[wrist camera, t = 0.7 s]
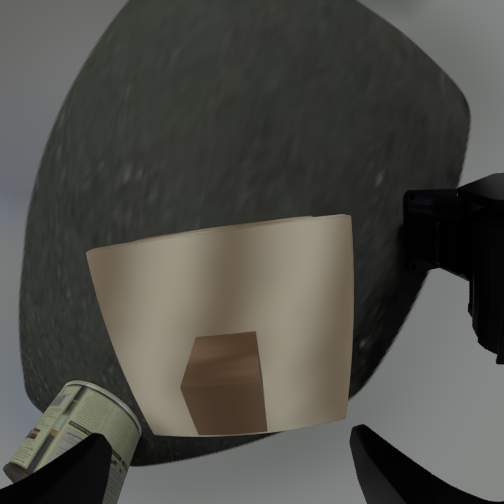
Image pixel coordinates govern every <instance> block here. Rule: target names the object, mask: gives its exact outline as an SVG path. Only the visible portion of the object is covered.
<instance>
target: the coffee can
mask: <svg viewBox="0 0 504 504" xmlns="http://www.w3.org/2000/svg"><path fill="white" fill-rule="evenodd" d="M92 433H100V434H103V435H104V436H105V437H106V439H107V440H108V442H109V443H110V445H111V446H112V449H113V452H112V458H111V465H110V471H109V478H108V483H107V487H106V491H105V495H104V499H103V503H102V504H117V501H118V498H119V495H120V492H121V489H122V486H123V483H124V480H125V477H126V474H127V471H128V468H129V465H130V463H131V460H132V457H133V454H134V451H135V448H136V446H137V443H138V440H139V438H140V437H141V433H142V429H141V425H140V422H139V420H138V418H137V417H136V415H135V414H134V413H133V412H132V410H131V409H130V408H129V407H128V406H127V405H126V404H125V403H124V402H123V401H121V400H120V399H119V398H118V397H116V396H115V395H113V394H112V393H110V392H109V391H107V390H105V389H103V388H101V387H100V386H97V385H95V384H93V383H89V382H86V381H81V380H75V381H70V382H68V383H66V384H65V385H64V387H63V389H62V390H61V392H60V393H59V394H58V395H57V397H56V398H55V399H54V401H53V402H52V403H51V404H50V406H49V407H48V408H47V410H46V411H45V412H44V414H43V415H42V417H41V418H40V419H39V420H38V422H37V423H36V424H35V426H34V427H33V429H32V430H31V431H30V433H29V434H28V436H27V437H26V439H25V440H24V441H23V443H22V444H21V446H20V447H19V449H18V450H17V452H16V453H15V455H14V456H13V457H12V459H11V460H10V462H9V463H8V464H6V465H5V466H4V468H3V470H4V472H5V474H6V475H7V476H8V478H9V479H10V480H11V481H12V482H13V483H16V482H18V481H20V480H22V479H23V478H25V477H27V476H29V475H30V474H32V473H34V472H35V471H37V470H38V469H40V468H41V467H43V466H45V465H46V464H48V463H49V462H51V461H52V460H54V459H55V458H57V457H58V456H60V455H61V454H63V453H64V452H66V451H67V450H69V449H70V448H72V447H73V446H75V445H76V444H77V443H79V442H80V441H82V440H83V439H85V438H86V437H87V436H89V435H90V434H92Z"/></svg>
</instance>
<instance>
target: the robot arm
mask: <svg viewBox="0 0 504 504" xmlns="http://www.w3.org/2000/svg"><path fill="white" fill-rule="evenodd" d="M457 193H458V196H457ZM410 195H412V199H410ZM405 212H406V219H405V237H406V269H407V271H408V272H410V273H417V272H422V271H427V270H431V269H436V268H441V269H444V270H446V271H448V272H450V273H452V274H454V275H456V276H459V277H461V278H463V279H465V280H467V281H469V289H470V291H469V293H470V295H469V298H470V299H469V304H468V312H469V314H470V315H471V317H472V327H473V329H474V331H475V333H476V335H477V337H478V343H479V344H480V345H481V346H483V347H484V348H485V349H487V350H489V351H491V352H493V353H495V354H497V359H496V364H504V173H496V174H492V175H489V176H487V177H484V178H482V179H479V180H476V181H474V182H471V183H469V184H466V185H464V186H461V187H458V189H432V190H409V191H407V192H406V193H405ZM412 265H413V268H412V269H411V266H412ZM350 447H351V452H352V456H353V460H354V464H355V468H356V473H357V477H358V481H359V484H360V486H361V489H362V491H363V494H364V497H365V499H366V502H367V504H504V501H502V502H494V501H488V500H484V499H481V498H479V497H476V496H474V495H471V494H469V493H466V492H464V491H462V490H459V489H457V488H455V487H453V486H451V485H449V484H448V483H446V482H444V481H443V480H441V479H439V478H438V477H436V476H435V475H432V474H431V473H430V472H429V471H427V470H426V469H424V468H423V467H421V466H420V465H419V464H417V463H416V462H414V461H413V460H412V459H410V458H409V457H407V456H406V455H405V454H403V453H402V452H400V451H399V450H398V449H396V448H395V447H393V446H392V445H391V444H390V443H388V442H387V441H386V440H384V439H383V438H382V437H380V436H379V435H378V434H376V433H375V432H374V431H372V430H371V429H370V428H369V427H367V426H366V425H364V424H361V425H358V426H354V427H353V428H352V431H351V436H350ZM112 452H113V449H112V446H111V445H110V443H109V442H108V440H107V439H106V437H105V436H104V435H103V434H100V433H92V434H90V435H89V436H87V437H86V438H85V439H83V440H82V441H80V442H79V443H77V444H76V445H75V446H73V447H72V448H70V449H69V450H67V451H66V452H64V453H63V454H61V455H60V456H58V457H57V458H55V459H54V460H52V461H51V462H49V463H48V464H46V465H45V466H43V467H41V468H40V469H38V470H37V471H35V472H34V473H32V474H30V475H29V476H27V477H25V478H23V479H22V480H20V481H18V482H16V483H14V484H12V485H9V486H7V487H5V488H2V489H0V504H102V503H103V499H104V495H105V491H106V487H107V483H108V478H109V471H110V465H111V458H112Z"/></svg>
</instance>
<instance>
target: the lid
mask: <svg viewBox="0 0 504 504" xmlns="http://www.w3.org/2000/svg"><path fill="white" fill-rule="evenodd" d="M86 255H87V259H88V264H89V268H90V272H91V276H92V280H93V284H94V288H95V291H96V295H97V298H98V302H99V305H100V308H101V312H102V315H103V318H104V321H105V324H106V327H107V330H108V333H109V336H110V339H111V341H112V344H113V347H114V350H115V352H116V355H117V357H118V360H119V362H120V365H121V367H122V370H123V372H124V374H125V377H126V379H127V381H128V384H129V386H130V388H131V390H132V392H133V394H134V397H135V399H136V401H137V403H138V405H139V407H140V409H141V411H142V413H143V415H144V417H145V419H146V421H147V422H148V424H149V426H150V428H151V430H152V432H153V433H154V435H165V436H190V437H211V436H236V435H250V434H261V433H270V432H278V431H285V430H292V429H298V428H304V427H309V426H314V425H319V424H324V423H329V422H333V421H338V420H342V419H345V418H346V411H347V402H348V394H349V384H350V373H351V359H352V343H353V316H354V269H353V242H352V225H351V216H349V215H345V214H341V215H331V216H322V217H313V218H304V219H295V220H287V221H278V222H270V223H262V224H254V225H246V226H239V227H231V228H224V229H216V230H209V231H202V232H195V233H188V234H181V235H174V236H168V237H161V238H155V239H148V240H142V241H136V242H130V243H124V244H118V245H112V246H106V247H100V248H95V249H92V250H90V251H88V252H86Z"/></svg>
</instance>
